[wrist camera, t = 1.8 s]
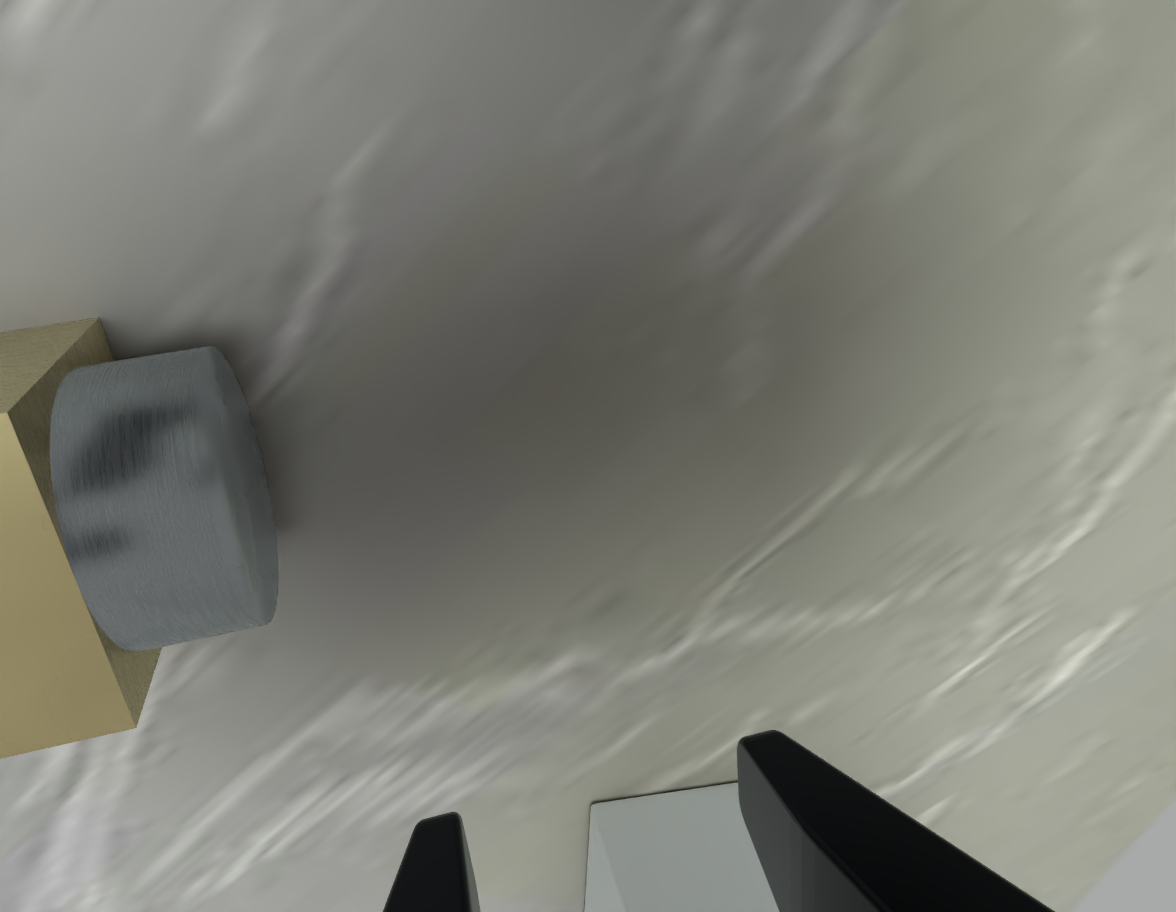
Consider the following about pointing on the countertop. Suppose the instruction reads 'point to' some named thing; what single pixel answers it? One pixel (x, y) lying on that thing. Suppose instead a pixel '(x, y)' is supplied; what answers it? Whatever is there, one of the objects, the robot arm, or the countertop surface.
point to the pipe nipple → (119, 525)
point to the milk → (674, 855)
